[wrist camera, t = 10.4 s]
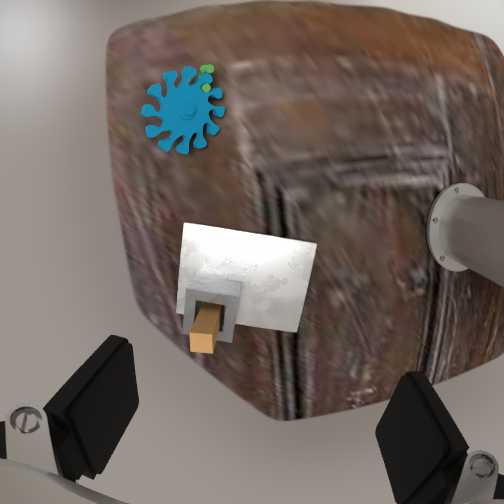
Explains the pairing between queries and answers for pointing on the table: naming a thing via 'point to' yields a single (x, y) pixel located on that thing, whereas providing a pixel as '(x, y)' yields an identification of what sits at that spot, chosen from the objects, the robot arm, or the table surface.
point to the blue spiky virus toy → (184, 108)
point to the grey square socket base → (243, 277)
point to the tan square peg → (206, 327)
